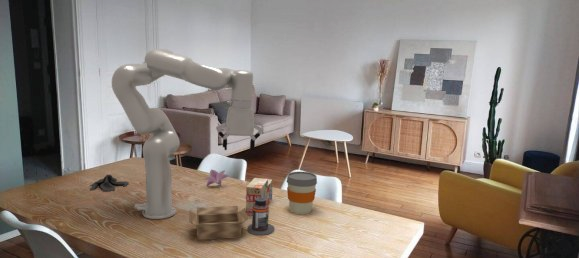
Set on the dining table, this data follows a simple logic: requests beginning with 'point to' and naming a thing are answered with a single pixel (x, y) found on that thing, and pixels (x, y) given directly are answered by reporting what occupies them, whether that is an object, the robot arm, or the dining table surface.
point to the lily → (216, 177)
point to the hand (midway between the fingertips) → (238, 149)
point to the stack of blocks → (258, 192)
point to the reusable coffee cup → (301, 191)
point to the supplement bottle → (260, 214)
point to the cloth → (108, 184)
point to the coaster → (264, 232)
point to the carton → (218, 222)
